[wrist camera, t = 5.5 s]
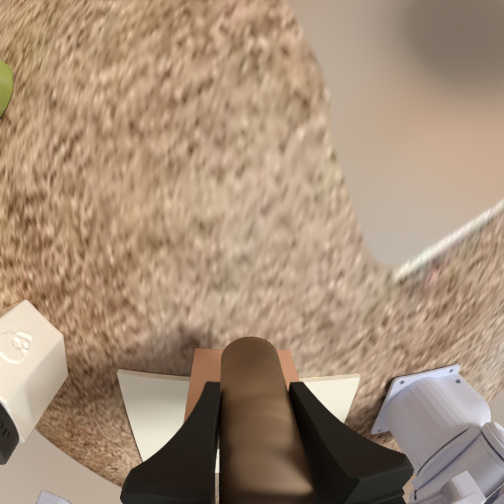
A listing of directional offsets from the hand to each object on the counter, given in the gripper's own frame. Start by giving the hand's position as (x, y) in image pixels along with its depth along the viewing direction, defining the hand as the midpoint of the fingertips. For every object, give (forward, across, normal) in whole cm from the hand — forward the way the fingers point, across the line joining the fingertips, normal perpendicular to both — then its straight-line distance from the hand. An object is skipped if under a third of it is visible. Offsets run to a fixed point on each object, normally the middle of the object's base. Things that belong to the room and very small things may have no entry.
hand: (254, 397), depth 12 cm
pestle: (+3, 0, 0) cm, 3 cm away
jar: (+8, +19, +4) cm, 21 cm away
